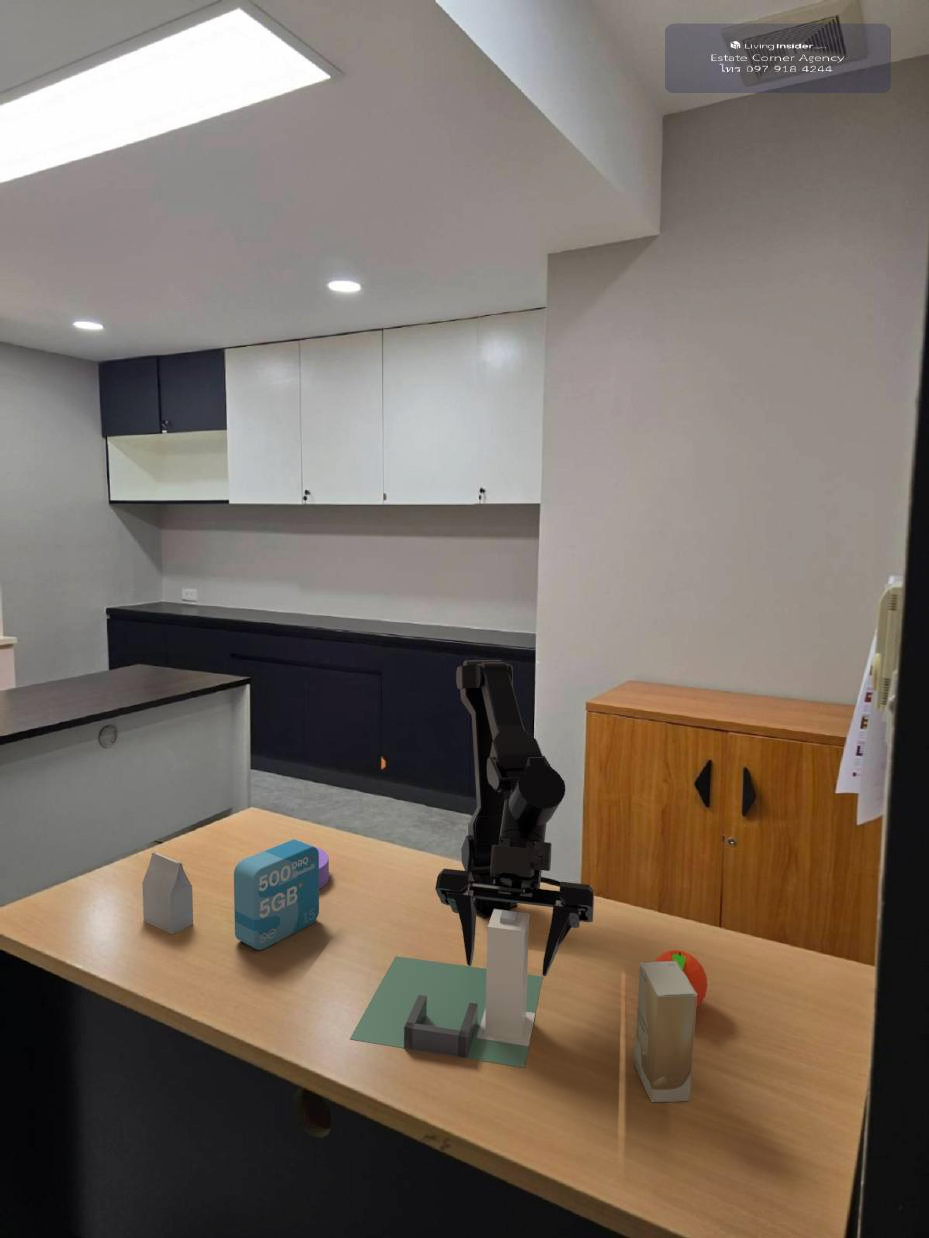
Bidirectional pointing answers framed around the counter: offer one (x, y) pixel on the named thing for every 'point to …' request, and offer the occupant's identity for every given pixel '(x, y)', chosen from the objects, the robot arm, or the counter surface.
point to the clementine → (688, 970)
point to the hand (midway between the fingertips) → (506, 969)
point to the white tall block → (507, 973)
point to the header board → (441, 1013)
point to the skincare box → (665, 1031)
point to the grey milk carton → (167, 895)
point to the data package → (276, 893)
